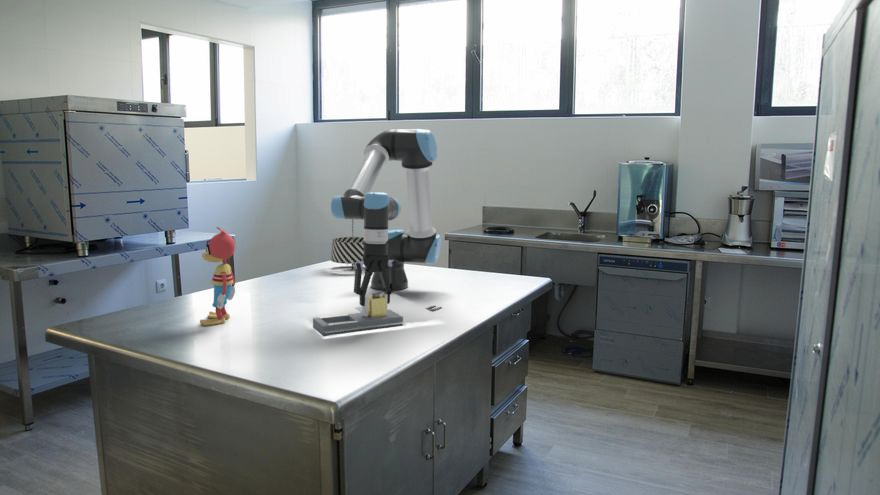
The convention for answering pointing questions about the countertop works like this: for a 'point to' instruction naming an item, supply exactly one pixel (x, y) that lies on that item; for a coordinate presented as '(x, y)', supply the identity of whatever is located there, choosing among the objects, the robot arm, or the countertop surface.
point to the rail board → (354, 322)
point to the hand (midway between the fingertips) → (374, 314)
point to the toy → (220, 276)
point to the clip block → (376, 305)
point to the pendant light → (347, 249)
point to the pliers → (433, 309)
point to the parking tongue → (359, 308)
